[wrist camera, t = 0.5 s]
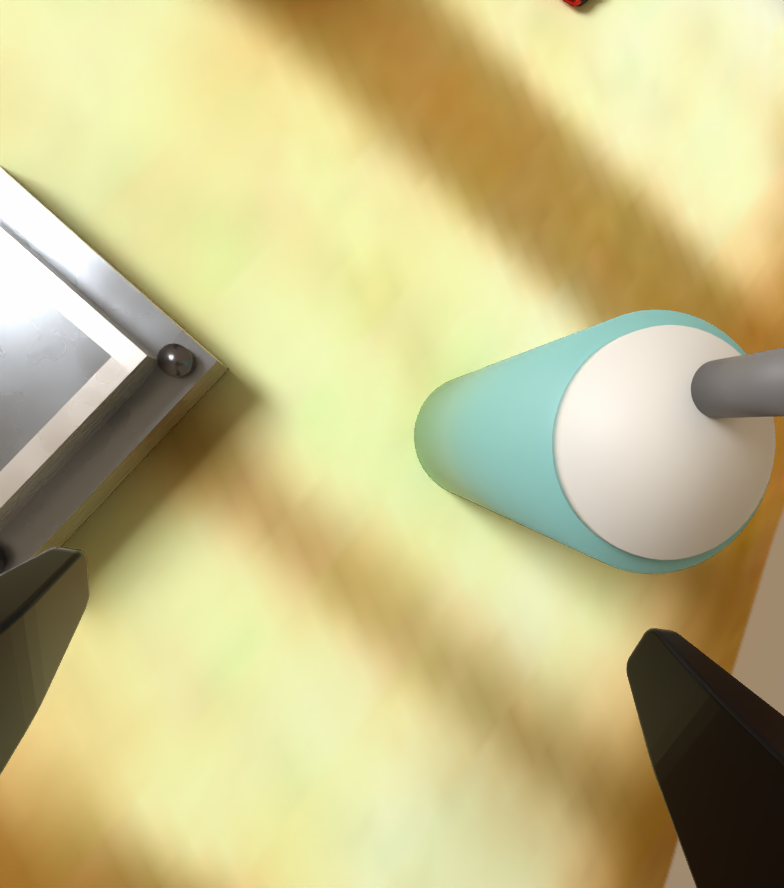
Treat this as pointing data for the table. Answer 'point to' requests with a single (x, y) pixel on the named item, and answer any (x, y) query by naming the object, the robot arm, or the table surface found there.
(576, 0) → the game console
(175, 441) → the table surface
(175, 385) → the grey square metal tray
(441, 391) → the spout can
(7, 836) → the table surface
